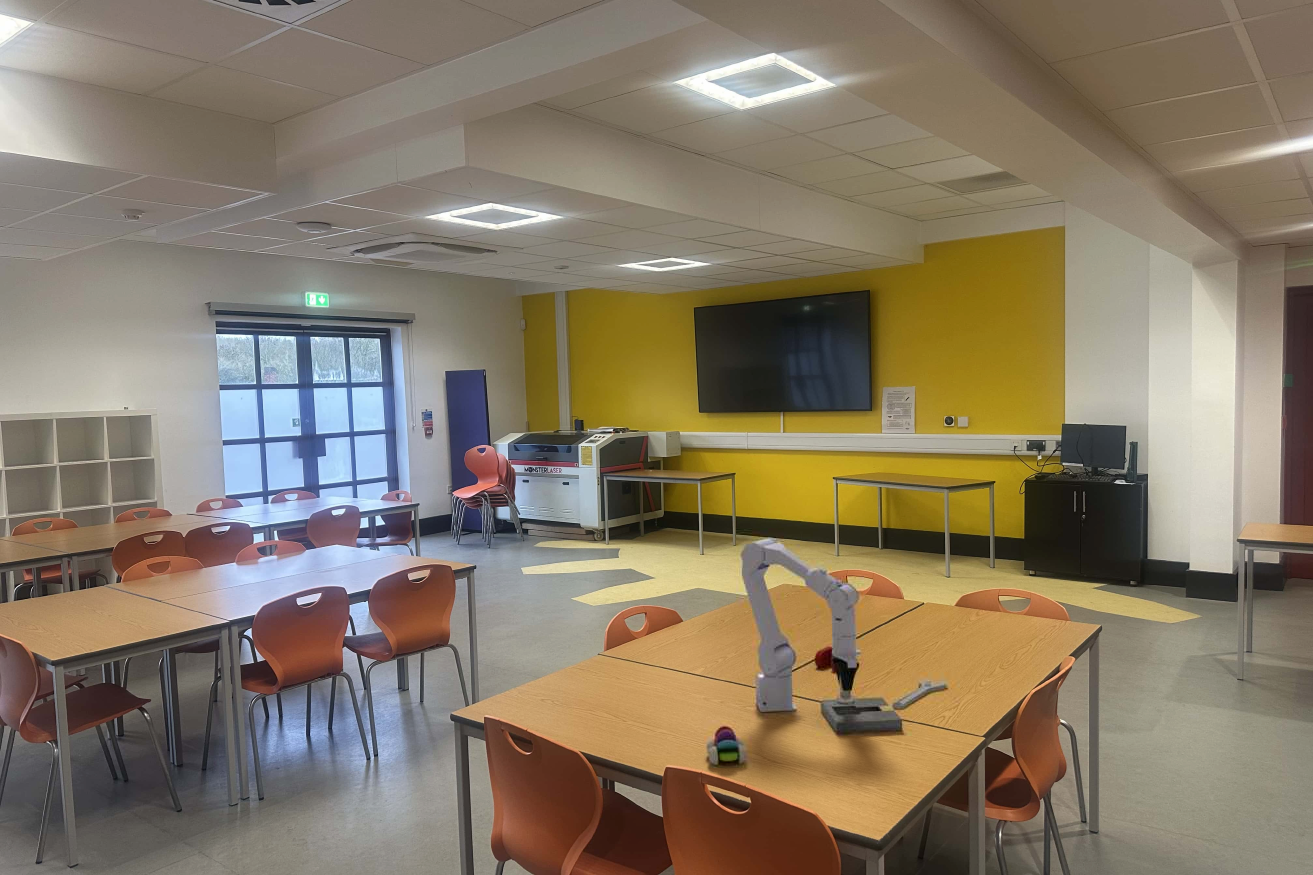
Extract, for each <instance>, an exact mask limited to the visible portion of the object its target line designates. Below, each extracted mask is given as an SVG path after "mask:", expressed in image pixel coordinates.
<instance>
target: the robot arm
mask: <svg viewBox="0 0 1313 875" xmlns="http://www.w3.org/2000/svg"><path fill="white" fill-rule="evenodd" d="M740 557H741V560H742V563H741V564H742V566H741V577H742V580H743V585H744V588H745V590H746V594H747V597H748V600H749V604H750V607H751V610H752V613H753V616H754V620H755V624H756V628H757V631H758V633H759V637H760V641H759V644H758V646H757V652H758V666H759V669H760V671H761V672H762V673H756V674H755V692H756V693H755V696H756V697H755V699H756V700H755V703H756V705H757V707H758V709H759V711H760V713H767V712H768V713H769V712H787V711H797V706H796V704H795V703H794V702H793V701H794V700H793V676H792V675H793V673H792V672H793V666H794V665H795V664H796V662H797V654H796V651H795V649H794V648H793V646H792V645H791V643H790V641H789V638H788V637H786V636H785V635H783V634H782V633H781V629H780V626H779V623H778V622H779V621H778V620H777V616H776V613H775V609H774V606H773V603H772V600H771V597H770V594H769V590H768V587H767V584H766V580H765V575H766V573H767V571H768V569H769V567H770V566H772V565H779V566H782V567H783V568H785V569H786V570H788V571H790V573H791V572H792V573H793V574H794V575H796V576H797V577H800V578H801V579H803V580H804V583H805V586H806V587H807V588H808V589H809V590H811V591H812V592H814V593H815V594H817V595H818V596H819V597H821V598H823V599H824V600H825V601H826V603H827V605H828V607H829V608H830V612H831V613H830V614H831V628H832V629H831V633H832V634H831V636H832V647H833V650H832V655H833V656H835V657H831V660H832V662H833V664H834V667H835V670H836V671H835V670H834V671H835V673H836V678H837V682H838V685H839V686H840V678H841V685H842V689H843V691H850V690H851V691H852V690H853V687H854V681H855V678H856V677H855V676H856V674H857V671H858V670H859V669H860V663H859V662H858V660H857V657H858V656H859V655H862V651H861V650H860V649H857V636H856V635H857V633H856V629H857V628H856V626H857V625H856V606H855V605H856V604H857V603H858V602H859V597H860V596H859V592H858V590H857V589H856V587H855V586H853V585H852V584H851V583H843V581H842V580H840V579H836V578H835V577H833V576H832V575H831V574H829V573H827V569H826V568H824V567H822V568H819V567H816V568H815V567H814V568H812V567H810V566H809V565H808V564H807V563H805V562H804V561H803V560H802V559H800V558H799V557H797V556H796V555H795V554H793V553H792V552H791V551H790V550H788V549H787V548H786V547H785V546H784V543H782V542H778V541H777V540H776V539H775V538H773V537H766V538H764V539H761V540H757V541H751V542H748V543H747V544H745V546H744V547H743V549H742V551H741V552H740Z"/></svg>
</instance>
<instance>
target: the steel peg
mask: <svg viewBox="0 0 1313 875" xmlns="http://www.w3.org/2000/svg"><path fill="white" fill-rule="evenodd" d="M855 699H856V697H855V695H852V690H850V691H843V689H842V685H841V678H840V685H839V694H838V695H836V700H837V703H839V704H843V705H851V704H854V703H855Z"/></svg>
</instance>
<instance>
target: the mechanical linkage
mask: <svg viewBox="0 0 1313 875" xmlns="http://www.w3.org/2000/svg"><path fill="white" fill-rule="evenodd" d="M832 650H833V646H829V645H828V646H826V647H824V648H821V649H820V650H818V651H817V652H816V653H815V656H814V664H815V666H816V667H817V668H821V669H824V668H826V667H828V666H830V668H831V670H833V671H835V672H836V670H835V667H834V664H833V662H832V660H831V657H835V656H833V655H832Z"/></svg>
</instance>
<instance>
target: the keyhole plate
mask: <svg viewBox="0 0 1313 875" xmlns="http://www.w3.org/2000/svg"><path fill="white" fill-rule="evenodd" d="M820 712H821V713H822V715H823V717H824V718H825V719H826V721H827V722H828V724H829V725H830V727H831V728H832V730H833V731H834V733H835V734H836V735H845V734H846V735H849V734H867V733H870V734H872V733H886V732H888V733H889V732H903V719H902V717H901V716H900V715H899V714H898V713H897V712H896V711H895V709H894V708H893V707H891V706H890V705H889V704H888V702H886V701H885V699H884V697H882V696H880V697H879V696H878V697H861V698H855V703H854V704H851V705H843V704H839V703H837V699H823V700H820Z"/></svg>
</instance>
